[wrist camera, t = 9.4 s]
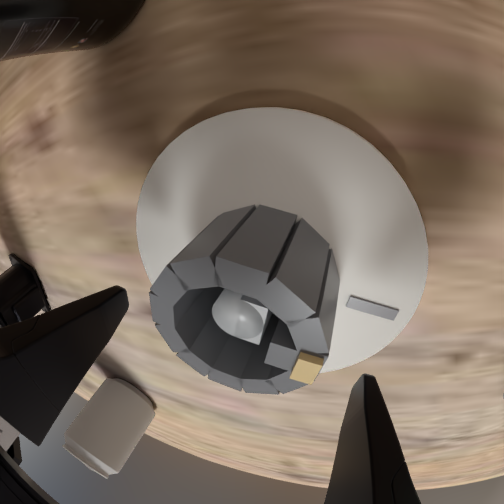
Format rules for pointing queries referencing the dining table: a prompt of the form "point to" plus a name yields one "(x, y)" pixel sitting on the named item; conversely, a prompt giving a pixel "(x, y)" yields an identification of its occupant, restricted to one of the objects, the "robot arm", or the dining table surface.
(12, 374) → the robot arm
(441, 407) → the dining table surface
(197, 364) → the grey segmented ring
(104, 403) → the can
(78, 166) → the dining table surface
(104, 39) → the supplement bottle
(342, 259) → the shaft hub
